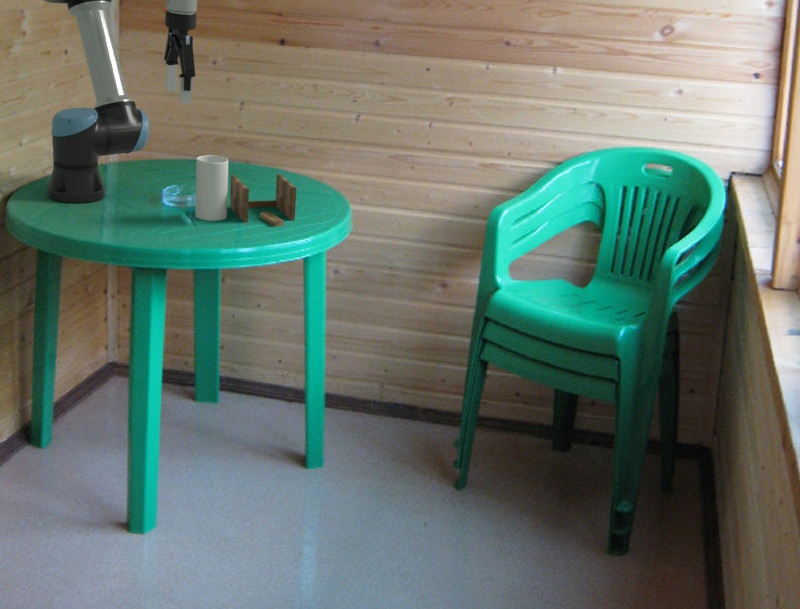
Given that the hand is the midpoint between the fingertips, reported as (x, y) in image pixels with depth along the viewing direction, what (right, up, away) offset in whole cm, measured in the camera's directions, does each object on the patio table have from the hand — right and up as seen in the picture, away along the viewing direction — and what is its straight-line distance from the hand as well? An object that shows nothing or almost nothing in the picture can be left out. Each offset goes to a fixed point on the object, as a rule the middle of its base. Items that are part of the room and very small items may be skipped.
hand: (178, 96), depth 269 cm
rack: (+19, -29, +17) cm, 39 cm away
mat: (+6, -30, +11) cm, 33 cm away
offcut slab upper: (+22, -31, +11) cm, 40 cm away
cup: (+6, -30, +11) cm, 33 cm away
